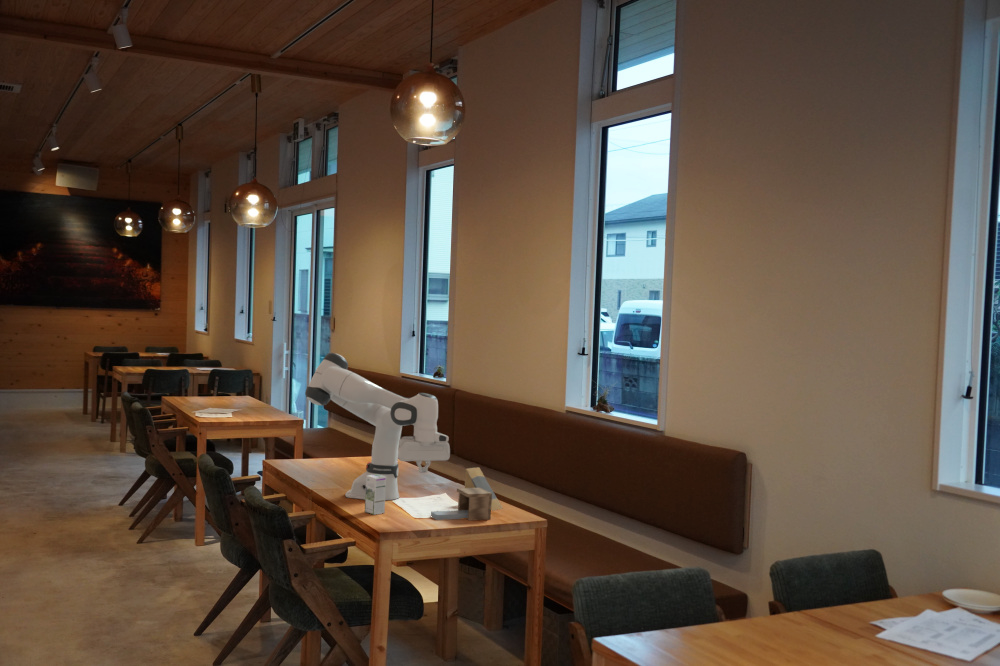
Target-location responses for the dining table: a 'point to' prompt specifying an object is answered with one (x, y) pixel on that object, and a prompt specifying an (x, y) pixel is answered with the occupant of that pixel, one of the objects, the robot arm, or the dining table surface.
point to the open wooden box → (475, 503)
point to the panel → (449, 514)
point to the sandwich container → (480, 484)
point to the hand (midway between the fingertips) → (423, 472)
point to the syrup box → (375, 494)
